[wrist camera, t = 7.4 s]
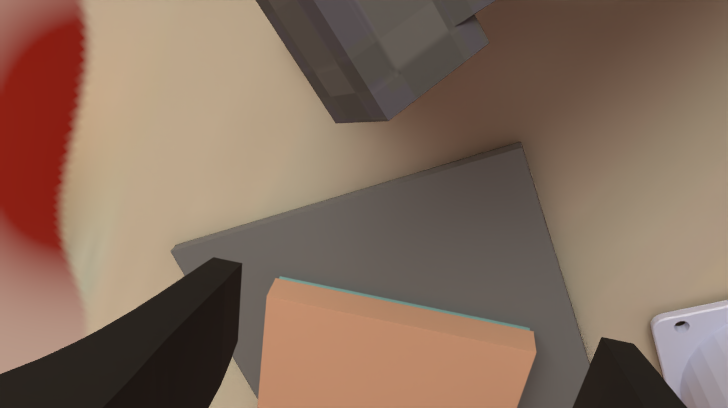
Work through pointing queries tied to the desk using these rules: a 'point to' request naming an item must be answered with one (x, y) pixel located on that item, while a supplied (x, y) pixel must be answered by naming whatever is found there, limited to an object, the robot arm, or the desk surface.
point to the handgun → (376, 49)
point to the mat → (420, 260)
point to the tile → (385, 353)
